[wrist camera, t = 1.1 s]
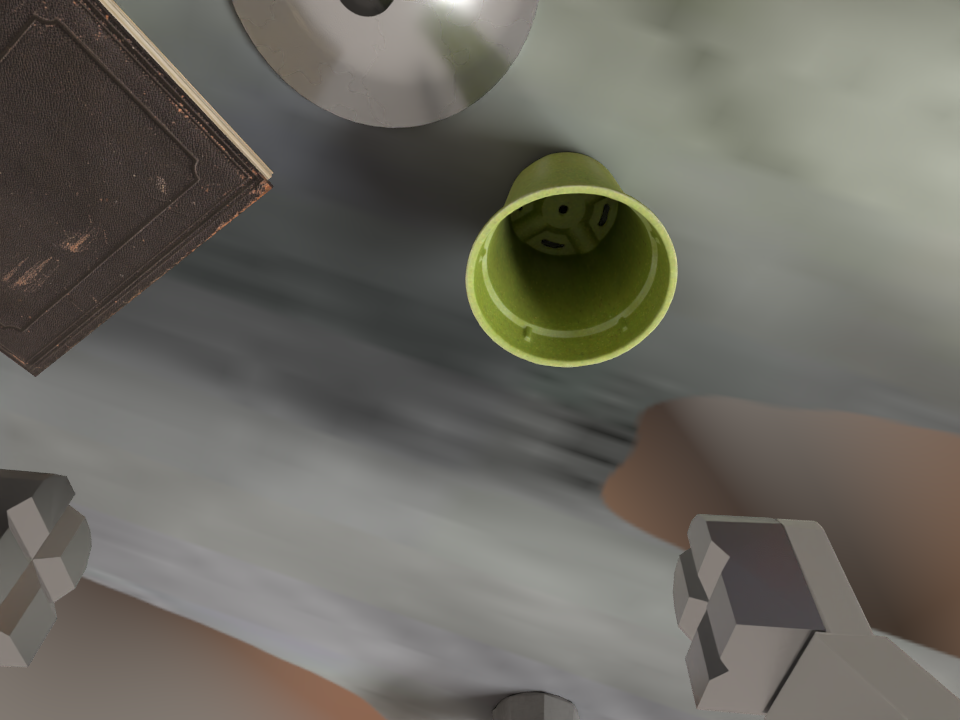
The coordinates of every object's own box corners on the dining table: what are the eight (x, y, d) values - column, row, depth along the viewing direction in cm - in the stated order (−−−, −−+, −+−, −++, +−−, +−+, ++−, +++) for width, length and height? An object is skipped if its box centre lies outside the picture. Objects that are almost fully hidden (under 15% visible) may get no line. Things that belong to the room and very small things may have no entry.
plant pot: (492, 102, 35) (482, 168, 28) (674, 134, 35) (708, 207, 29) (466, 263, 41) (452, 350, 34) (623, 289, 41) (641, 381, 34)
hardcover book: (284, 171, 39) (271, 188, 37) (54, 356, 48) (35, 377, 46) (27, -108, 31) (-5, -104, 29) (-186, 174, 40) (-221, 190, 39)
